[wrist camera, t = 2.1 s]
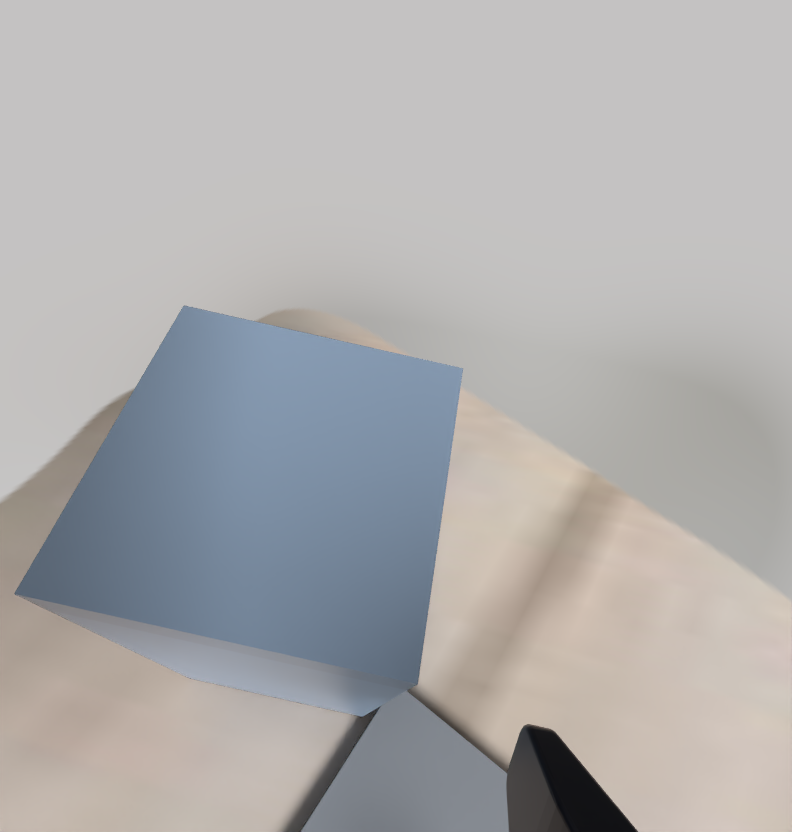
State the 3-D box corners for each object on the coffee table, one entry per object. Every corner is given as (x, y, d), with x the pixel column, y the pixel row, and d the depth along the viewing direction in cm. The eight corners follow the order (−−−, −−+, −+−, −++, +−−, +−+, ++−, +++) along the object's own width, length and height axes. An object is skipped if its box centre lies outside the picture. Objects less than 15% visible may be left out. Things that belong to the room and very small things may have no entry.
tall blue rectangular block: (362, 716, 16) (417, 684, 7) (189, 678, 16) (13, 594, 7) (404, 498, 20) (473, 298, 11) (266, 468, 20) (221, 240, 11)
